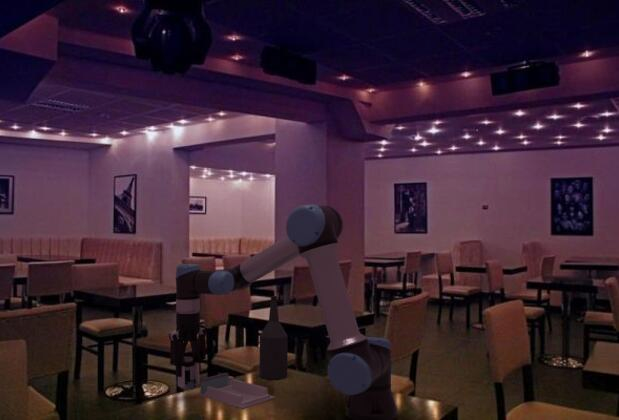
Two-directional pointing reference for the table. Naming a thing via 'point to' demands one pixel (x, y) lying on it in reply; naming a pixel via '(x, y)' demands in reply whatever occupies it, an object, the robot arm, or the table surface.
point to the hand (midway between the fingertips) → (188, 384)
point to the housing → (238, 394)
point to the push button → (189, 373)
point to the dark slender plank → (214, 382)
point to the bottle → (273, 347)
